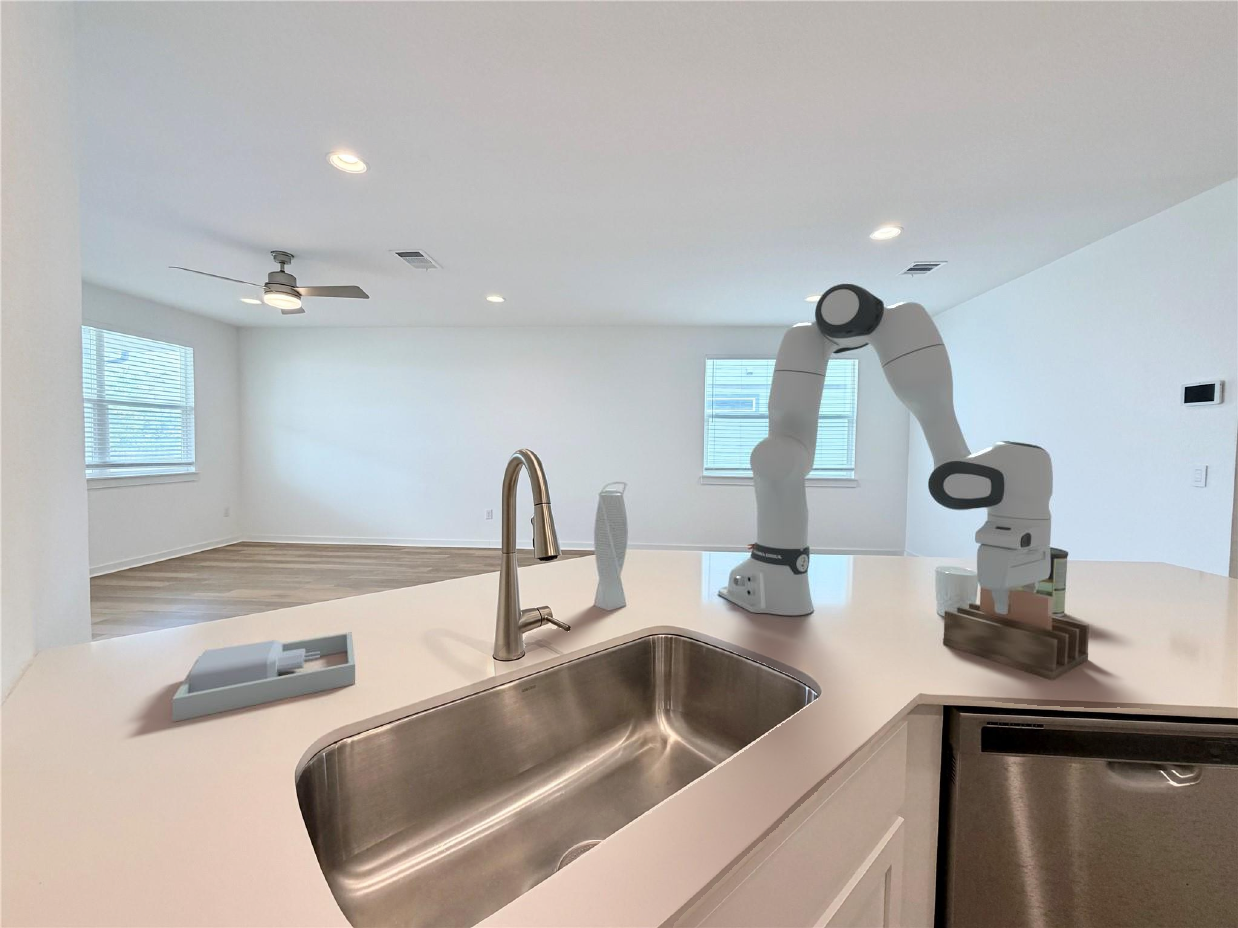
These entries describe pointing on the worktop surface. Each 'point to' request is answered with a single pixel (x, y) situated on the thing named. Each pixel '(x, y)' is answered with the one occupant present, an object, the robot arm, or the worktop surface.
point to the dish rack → (1018, 641)
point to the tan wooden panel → (1022, 607)
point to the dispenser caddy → (272, 682)
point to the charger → (244, 664)
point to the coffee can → (1055, 581)
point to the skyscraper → (610, 547)
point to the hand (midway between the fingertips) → (1014, 608)
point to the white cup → (954, 588)
